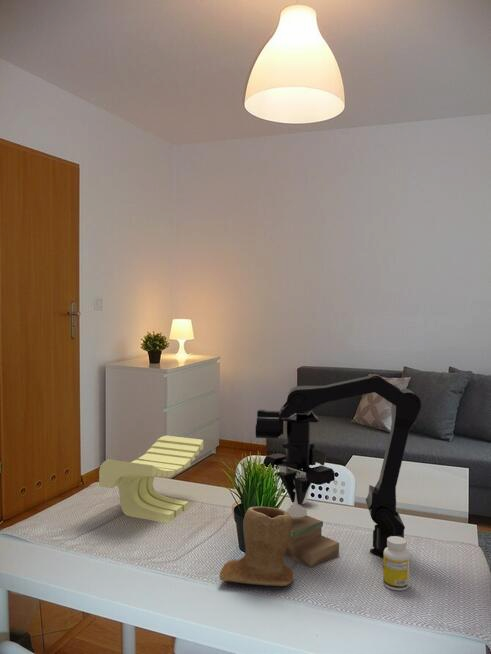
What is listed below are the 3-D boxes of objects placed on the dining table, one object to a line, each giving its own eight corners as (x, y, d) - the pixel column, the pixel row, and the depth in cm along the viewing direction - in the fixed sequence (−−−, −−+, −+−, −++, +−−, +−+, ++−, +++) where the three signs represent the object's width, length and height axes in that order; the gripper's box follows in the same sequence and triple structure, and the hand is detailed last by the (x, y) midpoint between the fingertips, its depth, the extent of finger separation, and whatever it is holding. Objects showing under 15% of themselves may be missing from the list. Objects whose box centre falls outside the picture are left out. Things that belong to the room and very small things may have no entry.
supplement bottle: (389, 576, 125) (390, 532, 124) (413, 584, 121) (414, 539, 121) (378, 585, 121) (379, 540, 120) (402, 594, 117) (403, 547, 117)
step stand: (338, 555, 135) (339, 528, 135) (309, 567, 128) (309, 539, 128) (298, 537, 145) (299, 512, 144) (269, 548, 138) (269, 522, 138)
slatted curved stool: (156, 490, 179) (157, 434, 178) (202, 497, 173) (203, 439, 172) (98, 524, 151) (99, 458, 150) (151, 534, 145) (152, 465, 144)
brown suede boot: (295, 568, 128) (296, 502, 127) (291, 595, 116) (293, 522, 115) (228, 562, 130) (230, 497, 130) (218, 588, 118) (219, 517, 118)
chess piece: (283, 514, 137) (284, 473, 137) (291, 508, 142) (292, 468, 141) (302, 518, 135) (303, 477, 135) (310, 512, 139) (311, 471, 139)
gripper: (350, 441, 136) (348, 506, 137) (293, 428, 150) (292, 486, 151) (319, 449, 129) (317, 517, 129) (262, 434, 143) (261, 495, 143)
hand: (297, 503), depth 138 cm, fingers closed on chess piece
